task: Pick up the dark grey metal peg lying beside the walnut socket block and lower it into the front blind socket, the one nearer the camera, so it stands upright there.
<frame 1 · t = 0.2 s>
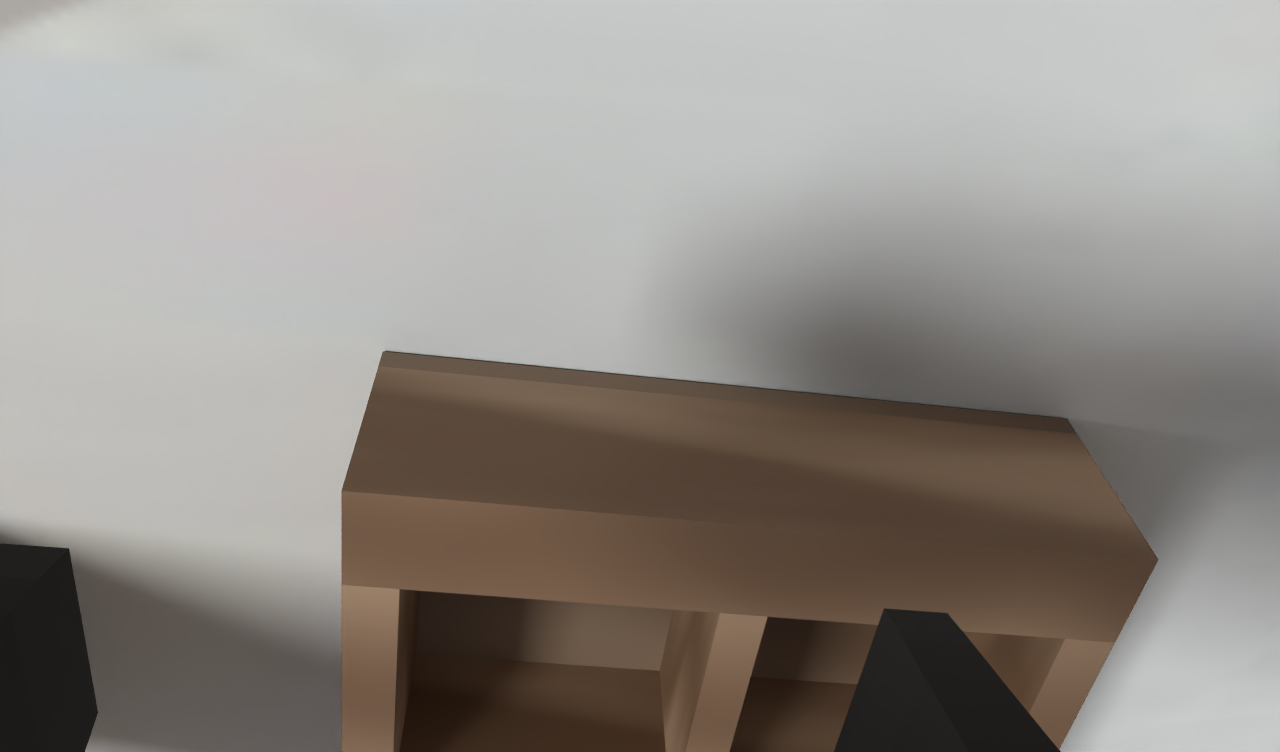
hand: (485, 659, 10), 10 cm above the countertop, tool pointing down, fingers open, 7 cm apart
socket block: (696, 566, 23), on the countertop
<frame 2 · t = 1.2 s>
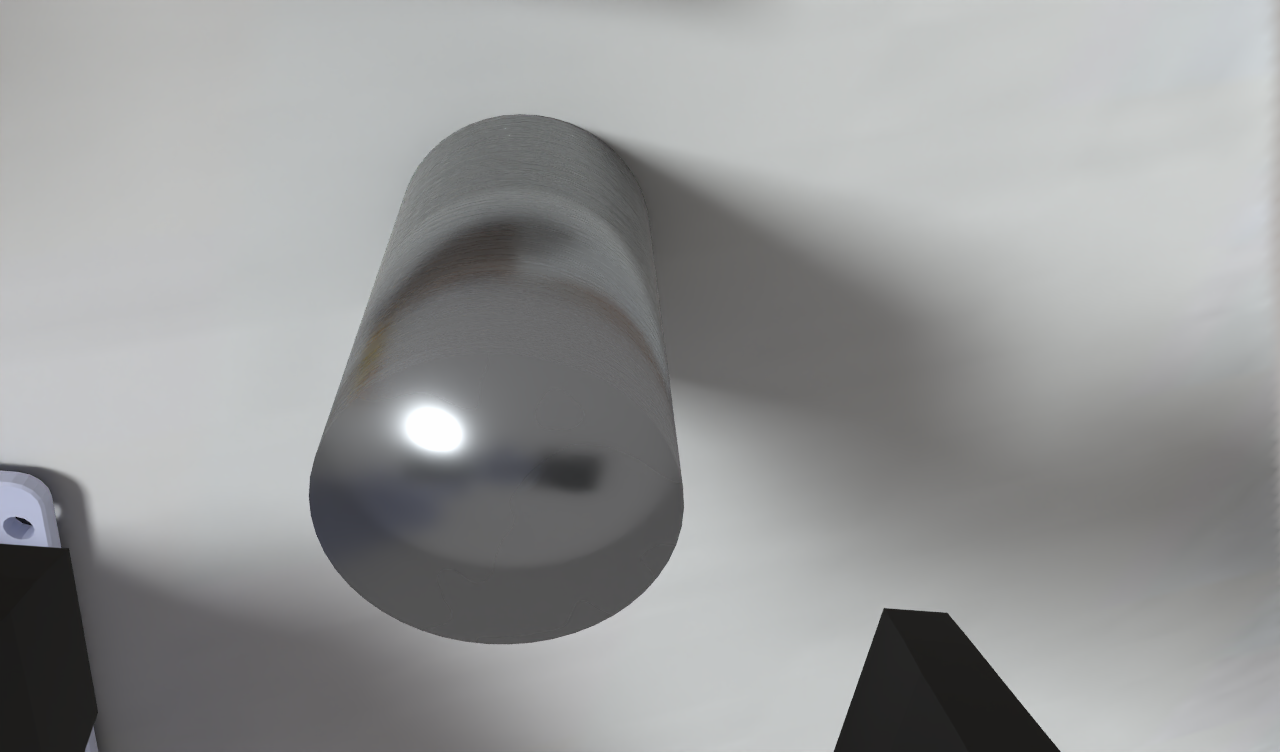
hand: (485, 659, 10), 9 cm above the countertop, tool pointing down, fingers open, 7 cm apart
peg: (526, 234, 18), on the countertop
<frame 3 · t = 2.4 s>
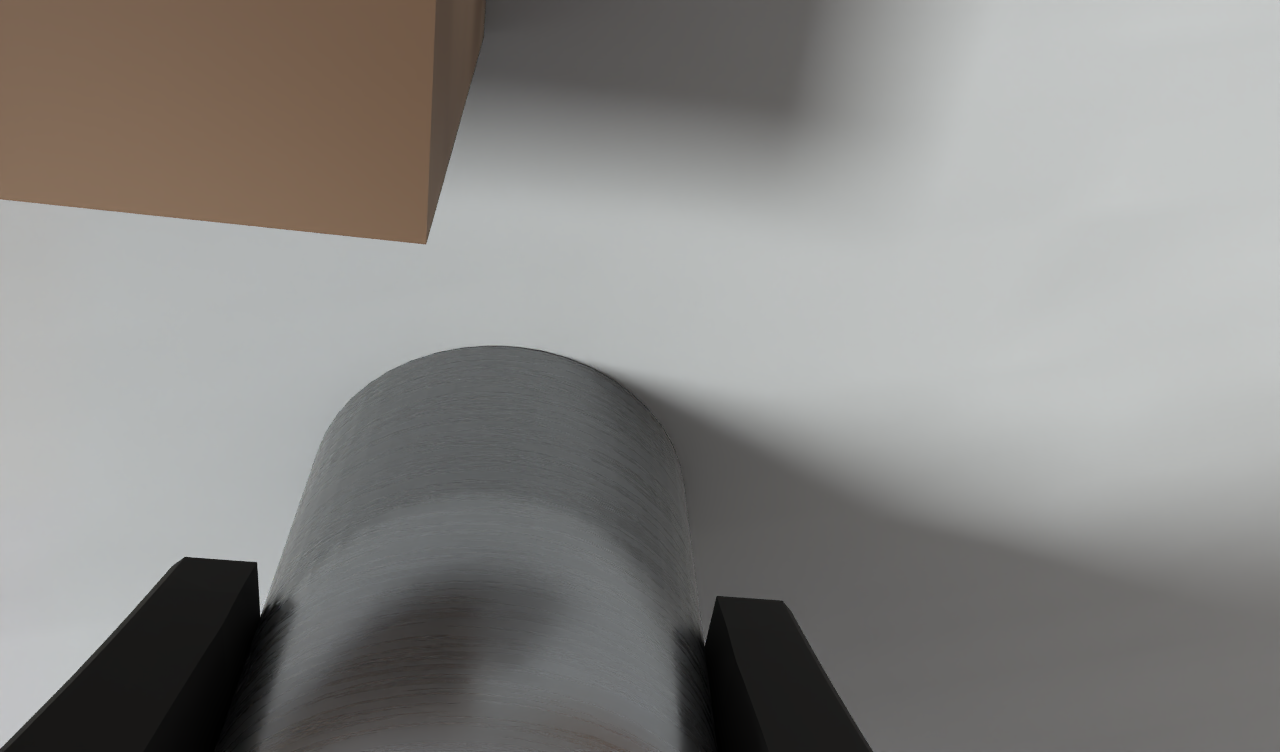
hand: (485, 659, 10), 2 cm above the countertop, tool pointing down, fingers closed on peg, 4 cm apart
peg: (500, 504, 12), on the countertop, touching gripper
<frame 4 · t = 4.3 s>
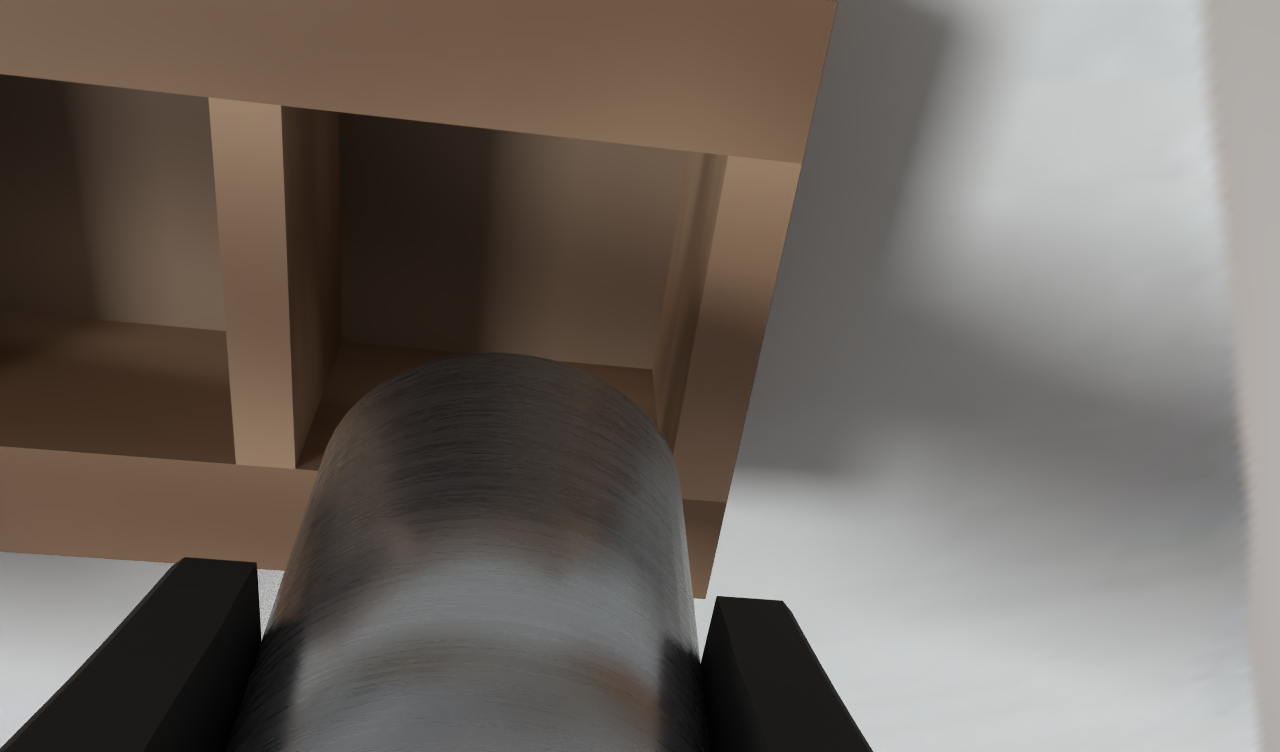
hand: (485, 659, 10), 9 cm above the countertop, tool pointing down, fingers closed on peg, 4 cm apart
socket block: (320, 180, 17), on the countertop
peg: (502, 504, 12), point 7 cm above the countertop, touching gripper
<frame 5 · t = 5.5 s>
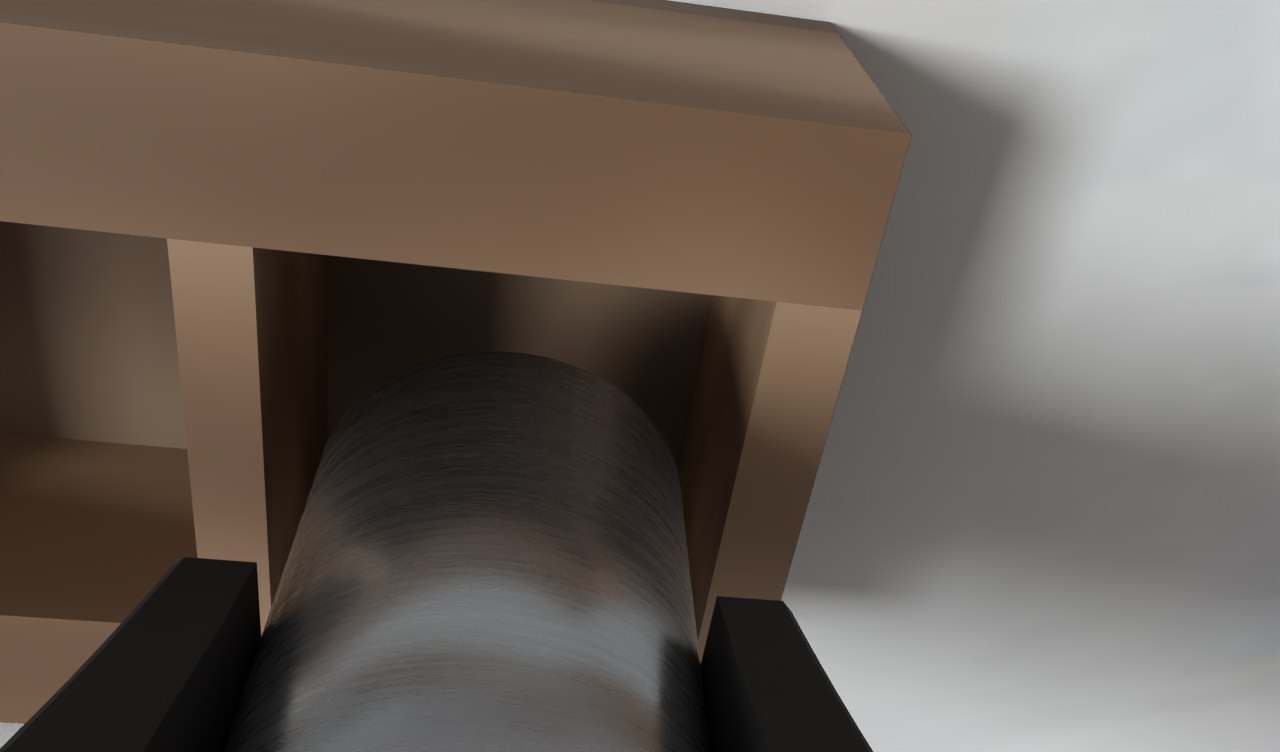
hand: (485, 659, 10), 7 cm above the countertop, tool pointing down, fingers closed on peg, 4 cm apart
socket block: (304, 287, 15), on the countertop
peg: (501, 503, 12), point 4 cm above the countertop, touching gripper
when the fingers open (5 cm above the countertop, at t = 6.3 s): peg drops 2 cm, resting on socket block.
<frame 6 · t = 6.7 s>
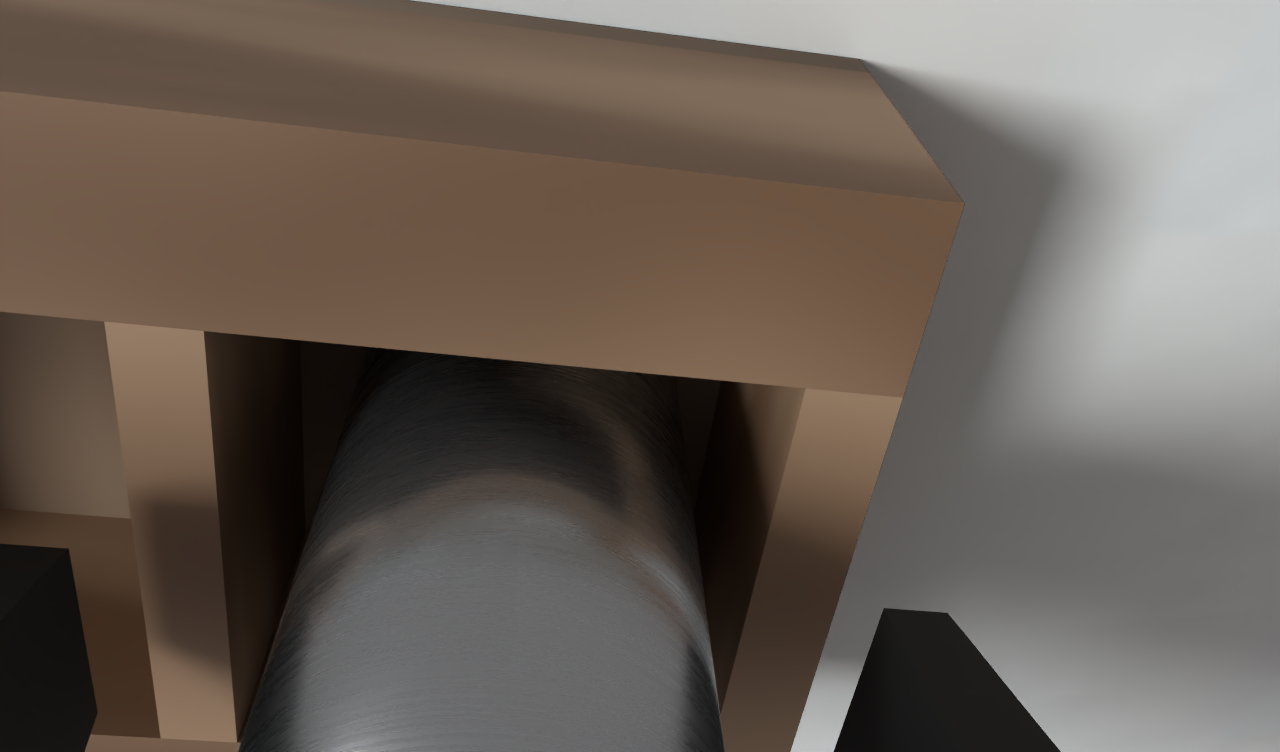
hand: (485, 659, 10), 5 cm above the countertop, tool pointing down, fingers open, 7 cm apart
socket block: (277, 346, 14), on the countertop
peg: (520, 403, 14), resting on socket block
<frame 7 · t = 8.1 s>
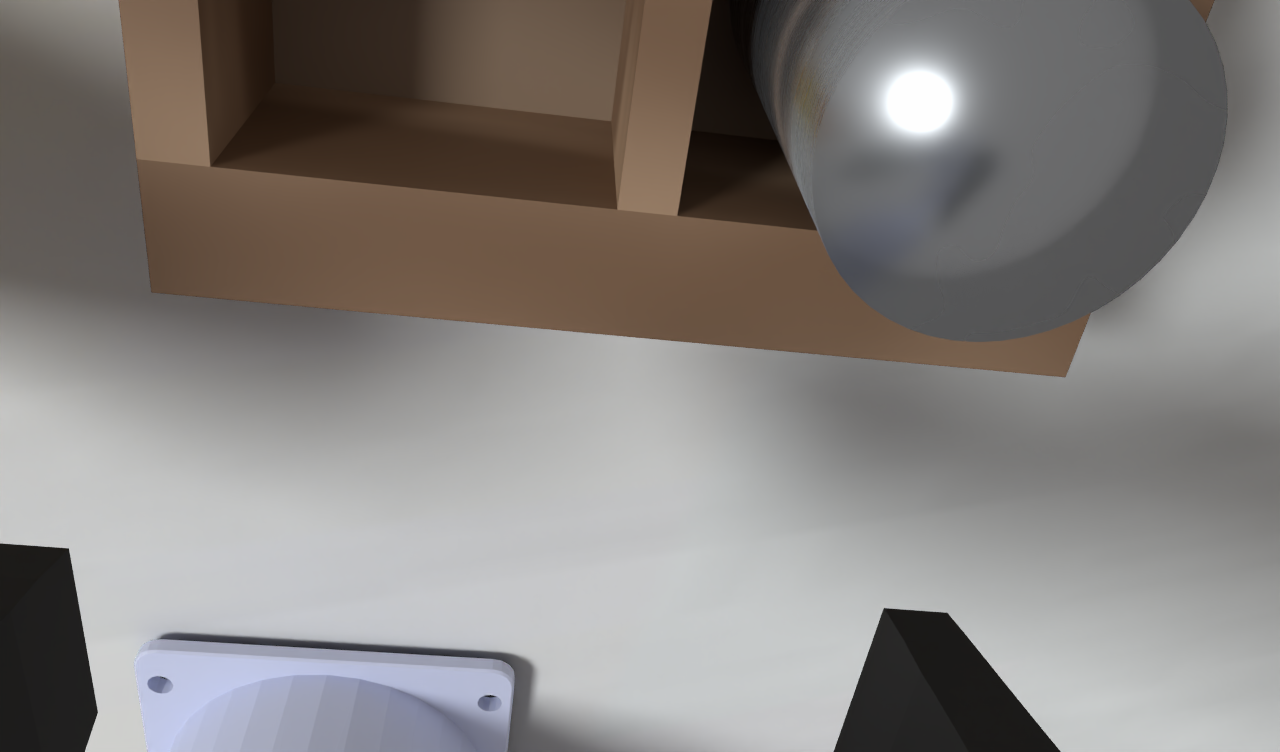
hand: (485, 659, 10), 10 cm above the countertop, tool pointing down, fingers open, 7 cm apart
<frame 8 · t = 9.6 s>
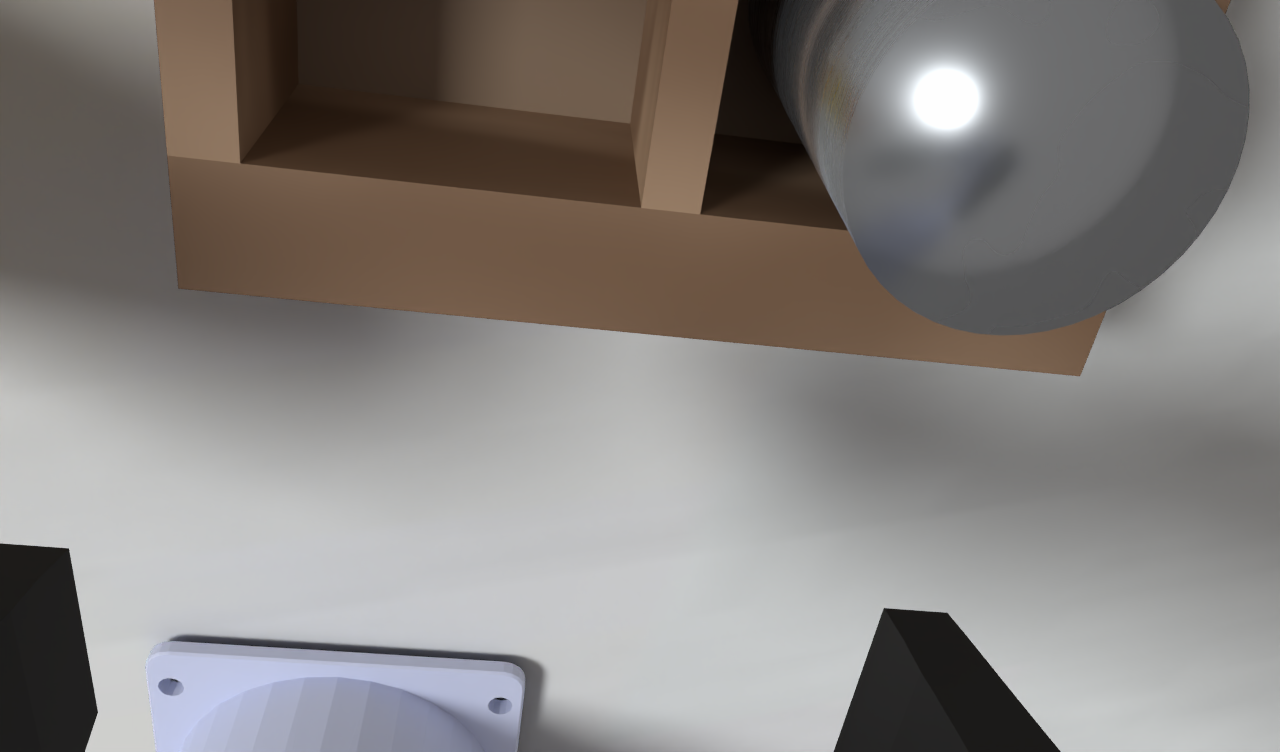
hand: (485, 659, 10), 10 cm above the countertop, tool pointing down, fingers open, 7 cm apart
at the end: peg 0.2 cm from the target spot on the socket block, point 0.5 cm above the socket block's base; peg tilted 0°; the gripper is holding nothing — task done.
